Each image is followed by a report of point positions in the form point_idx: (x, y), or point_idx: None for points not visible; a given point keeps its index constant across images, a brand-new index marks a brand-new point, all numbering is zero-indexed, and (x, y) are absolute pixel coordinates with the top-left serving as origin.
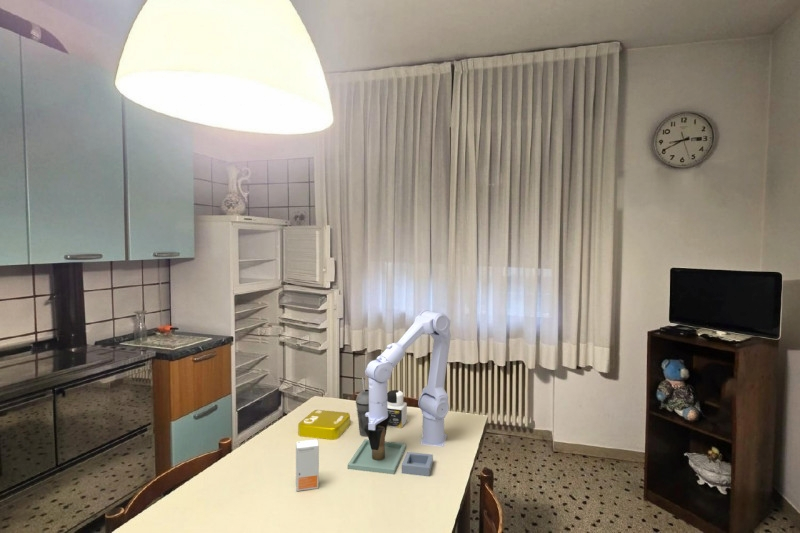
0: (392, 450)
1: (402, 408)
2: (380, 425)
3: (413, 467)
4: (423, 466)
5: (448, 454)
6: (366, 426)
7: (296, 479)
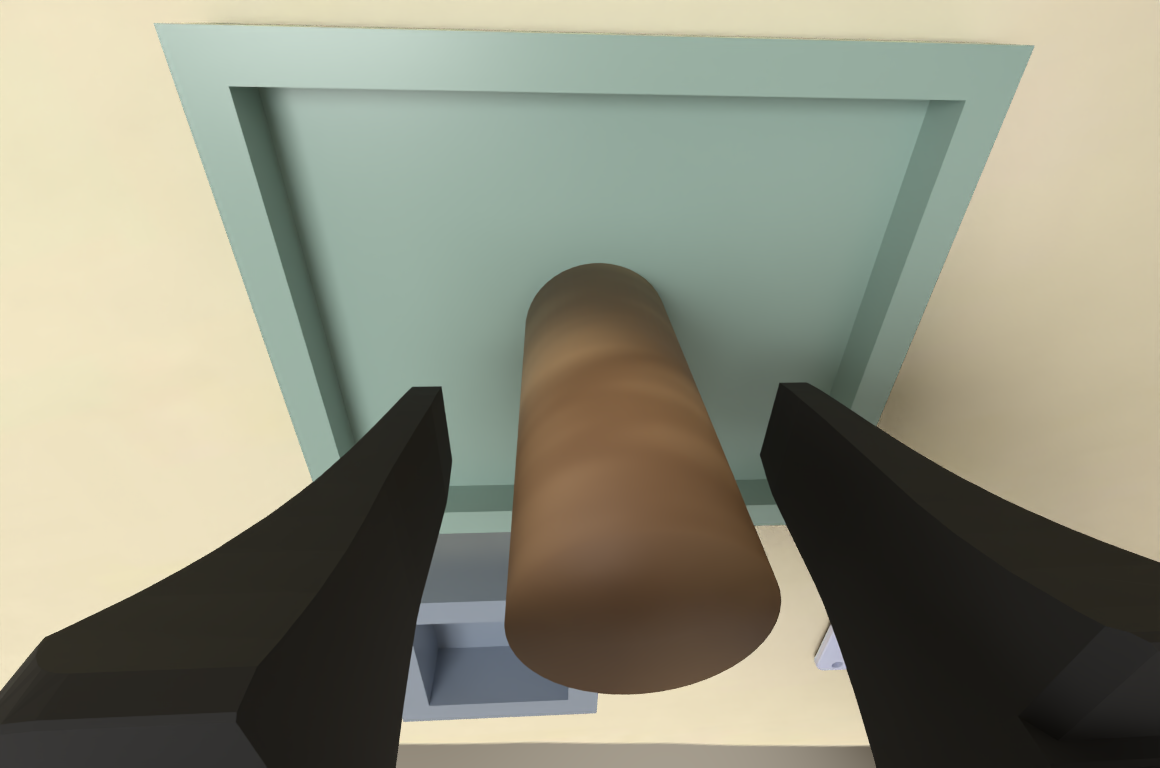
0: (754, 417)
1: None
2: (875, 570)
3: None
4: (410, 699)
5: (729, 681)
6: (113, 758)
7: None
